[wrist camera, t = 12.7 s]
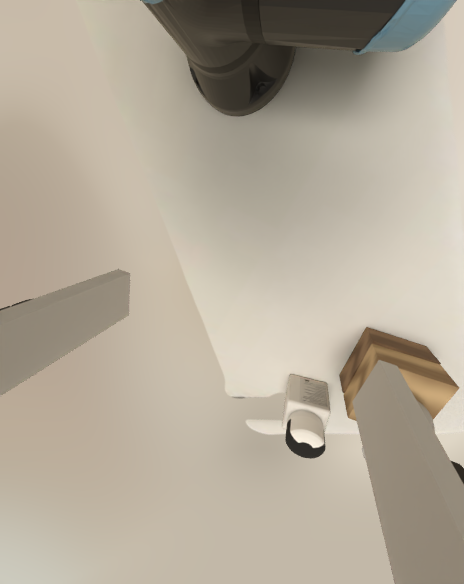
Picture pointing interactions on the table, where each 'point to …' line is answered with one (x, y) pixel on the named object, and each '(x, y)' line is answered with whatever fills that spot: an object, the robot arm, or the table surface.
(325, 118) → the table surface
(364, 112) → the table surface
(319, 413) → the container
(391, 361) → the slab upper
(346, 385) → the slab lower
